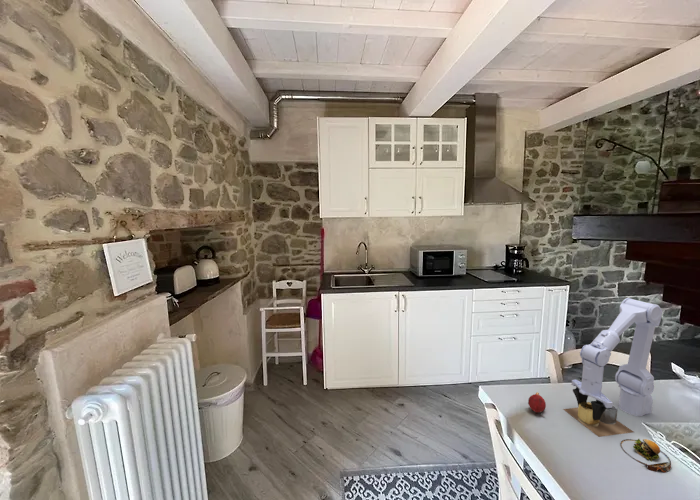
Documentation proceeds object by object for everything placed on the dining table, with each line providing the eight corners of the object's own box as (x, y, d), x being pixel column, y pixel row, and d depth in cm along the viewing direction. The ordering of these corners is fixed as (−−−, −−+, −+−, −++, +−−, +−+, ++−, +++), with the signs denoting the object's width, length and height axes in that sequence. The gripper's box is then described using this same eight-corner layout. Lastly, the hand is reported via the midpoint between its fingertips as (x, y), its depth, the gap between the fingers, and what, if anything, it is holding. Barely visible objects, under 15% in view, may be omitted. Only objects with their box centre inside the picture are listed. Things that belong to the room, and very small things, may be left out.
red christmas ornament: (547, 418, 118) (549, 398, 117) (530, 416, 119) (532, 396, 118) (541, 408, 124) (542, 389, 123) (525, 406, 125) (526, 387, 124)
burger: (619, 438, 108) (621, 418, 107) (668, 455, 100) (671, 433, 99) (620, 460, 98) (622, 438, 97) (673, 480, 91) (677, 456, 90)
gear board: (594, 408, 123) (595, 398, 123) (634, 435, 109) (635, 424, 108) (562, 412, 121) (563, 401, 121) (598, 440, 107) (599, 428, 106)
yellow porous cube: (587, 413, 117) (589, 401, 116) (600, 423, 112) (602, 410, 111) (575, 415, 116) (577, 403, 116) (588, 425, 111) (590, 412, 110)
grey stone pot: (604, 413, 118) (605, 401, 118) (618, 422, 113) (619, 410, 112) (592, 415, 118) (593, 402, 117) (605, 424, 112) (606, 411, 112)
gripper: (565, 369, 119) (562, 403, 121) (601, 391, 105) (597, 429, 106) (582, 368, 120) (579, 401, 122) (619, 389, 106) (615, 426, 107)
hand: (588, 414), depth 114 cm, fingers closed on yellow porous cube, 5 cm apart
